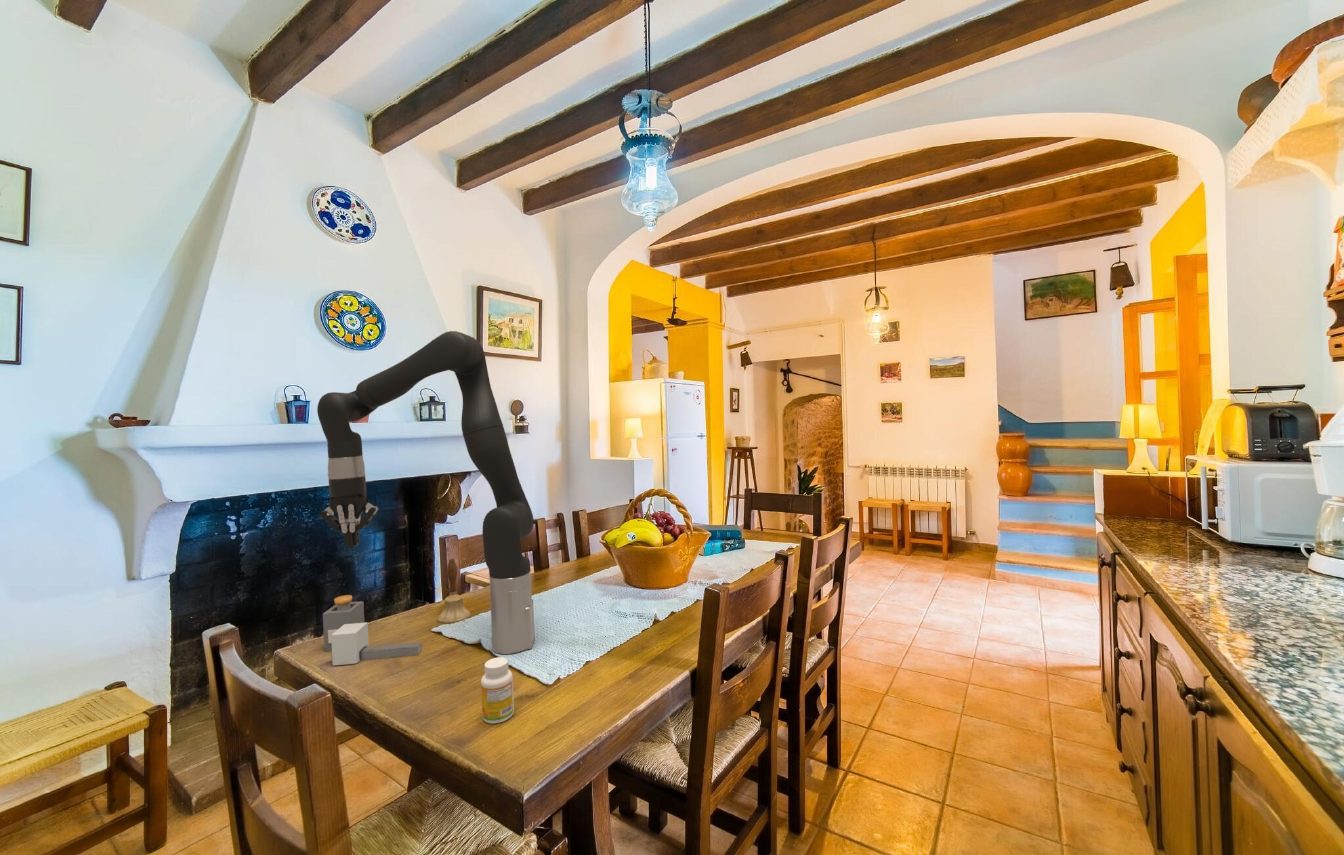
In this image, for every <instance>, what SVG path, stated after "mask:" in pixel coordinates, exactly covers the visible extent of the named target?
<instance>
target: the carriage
mask: <svg viewBox="0 0 1344 855" xmlns="http://www.w3.org/2000/svg"><path fill="white" fill-rule="evenodd" d="M368 623H369V622H367V621H366V622H365V623H354V624H344V625H343V626H342V627H341V628H339V629H338V630H337V631H336V632H334V633H333V634H332V635H331V642H332V651H331V654H332V655H331V658H332V666H333V667H334V666H341V665H353V664H358V663H359V662H360V661H361V660H360V659H359V651H360V650H361V649H362V648H363V647H370V646H369V645H370V644H369V626H368V625H369V624H368Z"/></svg>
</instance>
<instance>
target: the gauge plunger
mask: <svg viewBox="0 0 1344 855" xmlns="http://www.w3.org/2000/svg"><path fill="white" fill-rule="evenodd" d="M333 600H334V605H336V604H337V611H338V610H349V609H350V608H351V606H350V602H353V595H351V594H344V595H340V596H337V597H335V598H334V599H333Z"/></svg>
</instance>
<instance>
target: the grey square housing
mask: <svg viewBox="0 0 1344 855" xmlns="http://www.w3.org/2000/svg"><path fill="white" fill-rule="evenodd" d="M364 604H365V603H364V601H363V600H361V601H351V602H350V606H351V608H350V609H349V610H338V611H337V604H334V605H333V606H331V607H330V608H329V609H328V610H326V611H325V612H323V613H322V625H323V628H322V629H323V643H324V644H323V645H324V647H323V648H324V653H326V652H332V642H331V635H332V634H333V633H334V632H336V631H337V630H338V629H339V628H341V627H342V626H343V625H344V624H354V623H366V622H365V605H364Z"/></svg>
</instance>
